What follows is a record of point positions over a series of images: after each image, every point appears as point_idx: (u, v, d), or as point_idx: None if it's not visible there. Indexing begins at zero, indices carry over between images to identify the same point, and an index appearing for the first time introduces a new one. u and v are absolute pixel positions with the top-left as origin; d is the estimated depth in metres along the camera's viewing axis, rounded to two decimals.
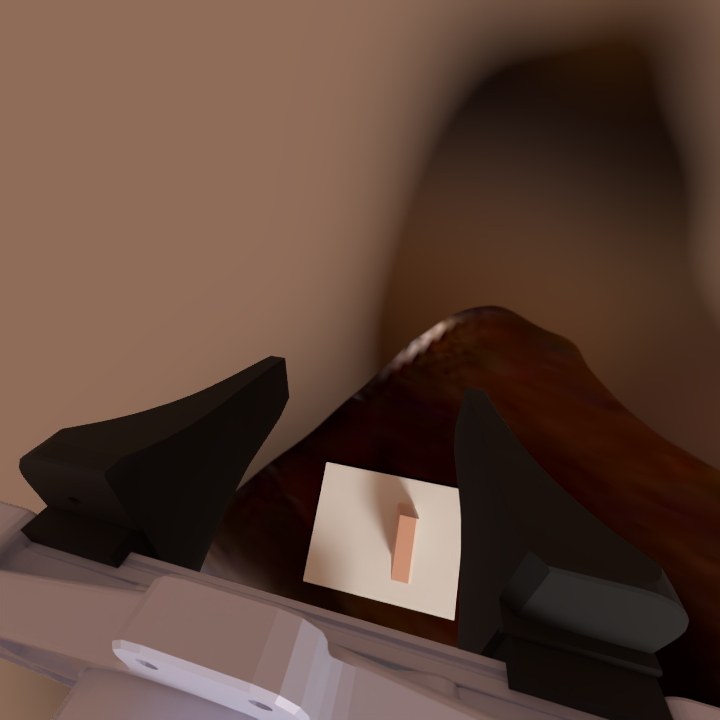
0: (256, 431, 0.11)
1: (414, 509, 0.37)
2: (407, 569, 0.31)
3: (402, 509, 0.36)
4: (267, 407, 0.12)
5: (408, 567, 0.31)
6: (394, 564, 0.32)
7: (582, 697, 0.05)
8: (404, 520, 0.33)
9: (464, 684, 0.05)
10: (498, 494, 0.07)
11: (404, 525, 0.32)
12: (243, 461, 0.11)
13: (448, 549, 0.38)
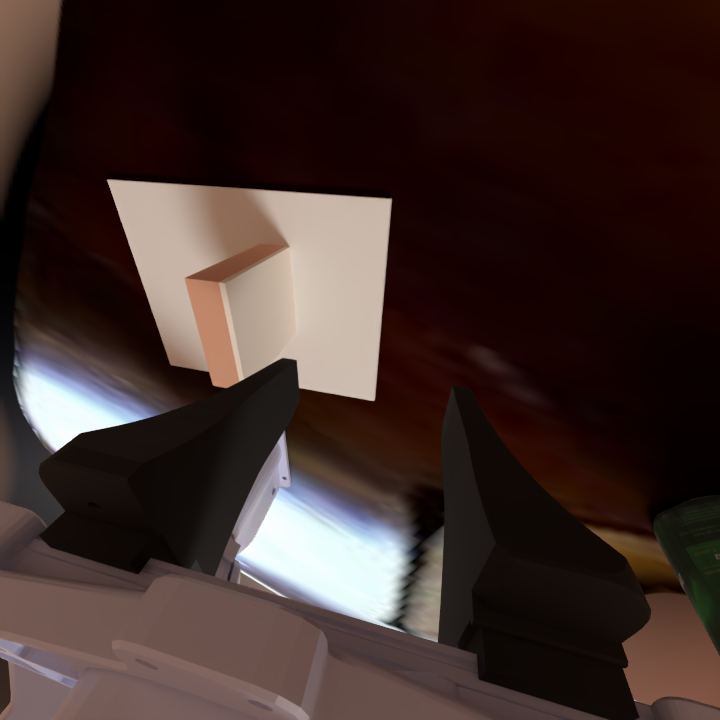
0: (269, 434, 0.11)
1: (270, 255, 0.18)
2: (233, 371, 0.16)
3: (230, 260, 0.17)
4: (279, 409, 0.12)
5: (233, 368, 0.16)
6: (209, 365, 0.17)
7: (548, 686, 0.05)
8: (197, 288, 0.14)
9: (464, 684, 0.05)
10: (474, 489, 0.07)
11: (200, 298, 0.14)
12: (256, 465, 0.11)
13: (359, 315, 0.21)
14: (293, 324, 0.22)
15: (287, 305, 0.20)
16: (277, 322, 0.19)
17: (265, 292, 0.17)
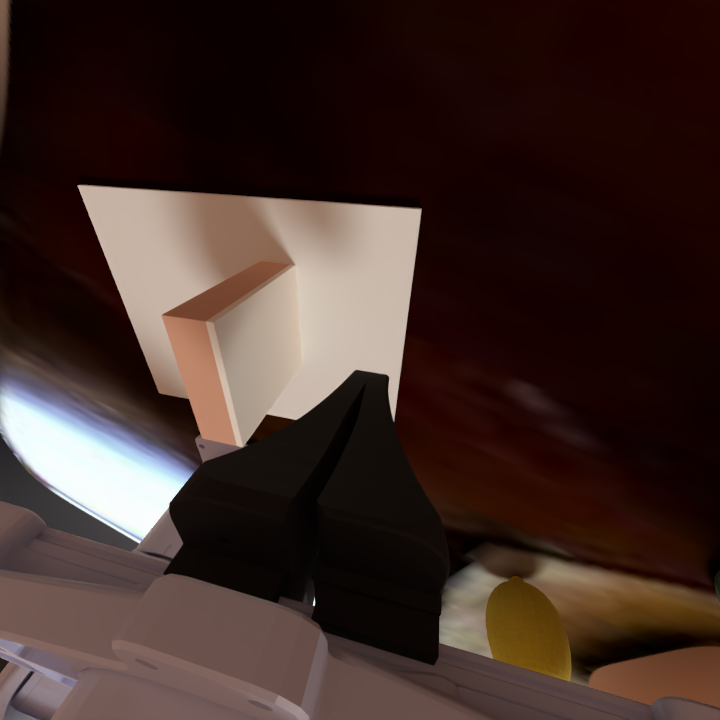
0: None
1: (272, 278, 0.14)
2: (226, 424, 0.13)
3: (223, 286, 0.13)
4: None
5: (227, 421, 0.13)
6: (197, 416, 0.13)
7: (365, 630, 0.06)
8: (178, 328, 0.11)
9: (464, 684, 0.05)
10: (341, 461, 0.07)
11: (183, 340, 0.11)
12: None
13: (377, 344, 0.18)
14: (299, 354, 0.19)
15: (292, 333, 0.17)
16: (280, 355, 0.16)
17: (266, 323, 0.14)
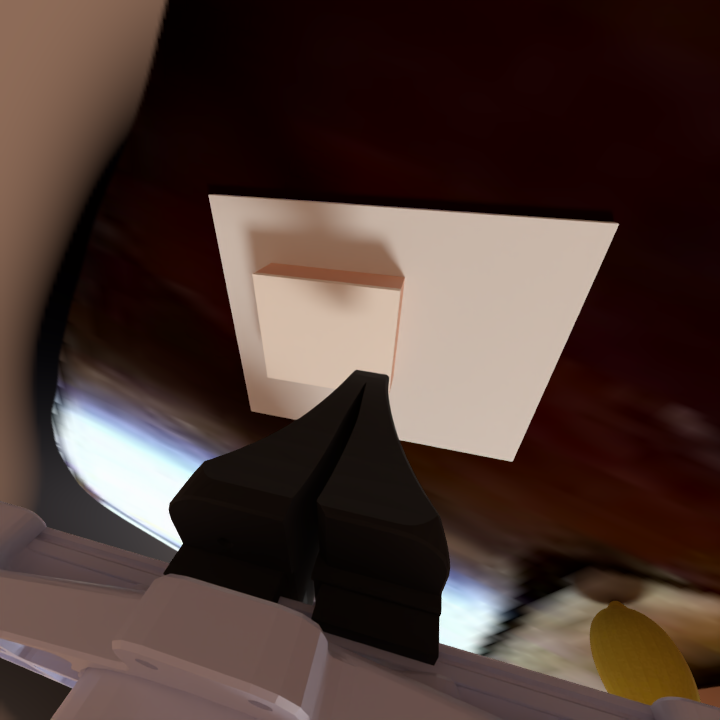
0: None
1: (349, 283, 0.14)
2: None
3: (326, 270, 0.16)
4: None
5: None
6: None
7: (364, 631, 0.06)
8: None
9: (464, 684, 0.05)
10: (341, 461, 0.07)
11: None
12: None
13: (524, 365, 0.16)
14: None
15: (370, 354, 0.16)
16: (340, 357, 0.16)
17: (320, 314, 0.15)
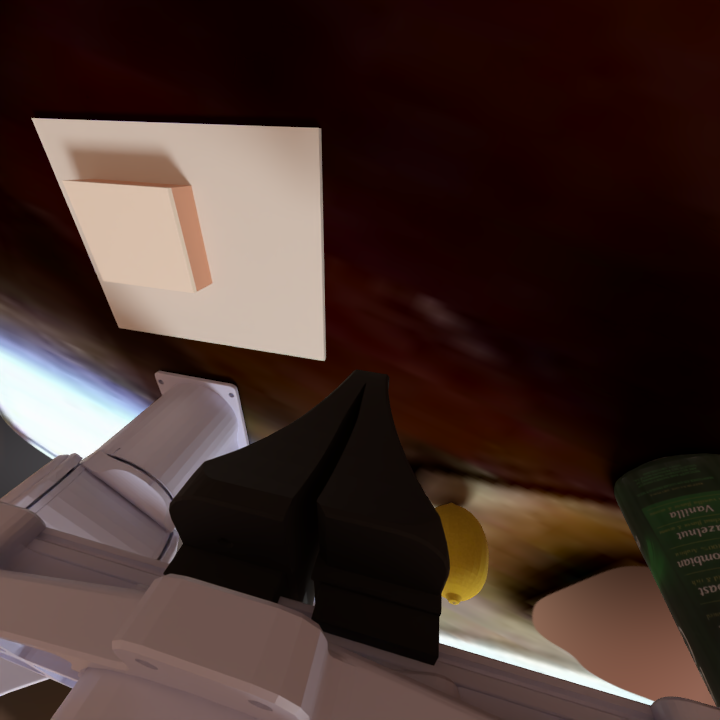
0: None
1: (133, 185, 0.18)
2: None
3: (131, 182, 0.19)
4: None
5: None
6: None
7: (364, 630, 0.06)
8: None
9: (464, 684, 0.05)
10: (341, 461, 0.07)
11: None
12: None
13: (300, 263, 0.20)
14: (184, 279, 0.20)
15: (167, 250, 0.19)
16: (147, 256, 0.20)
17: (120, 215, 0.19)
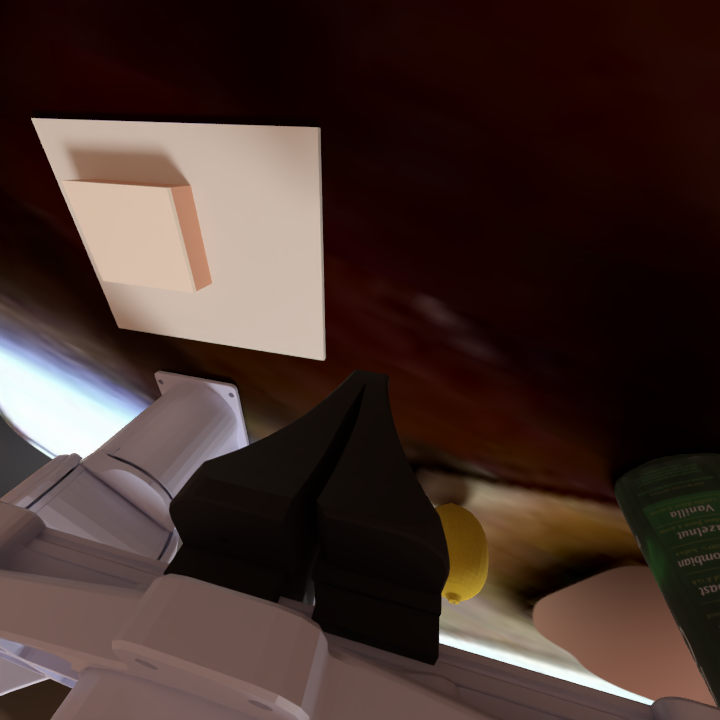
0: None
1: (133, 185, 0.18)
2: None
3: (130, 182, 0.19)
4: None
5: None
6: None
7: (364, 630, 0.06)
8: None
9: (464, 684, 0.05)
10: (341, 460, 0.07)
11: None
12: None
13: (299, 263, 0.20)
14: (184, 279, 0.20)
15: (167, 250, 0.19)
16: (147, 255, 0.20)
17: (120, 215, 0.19)
